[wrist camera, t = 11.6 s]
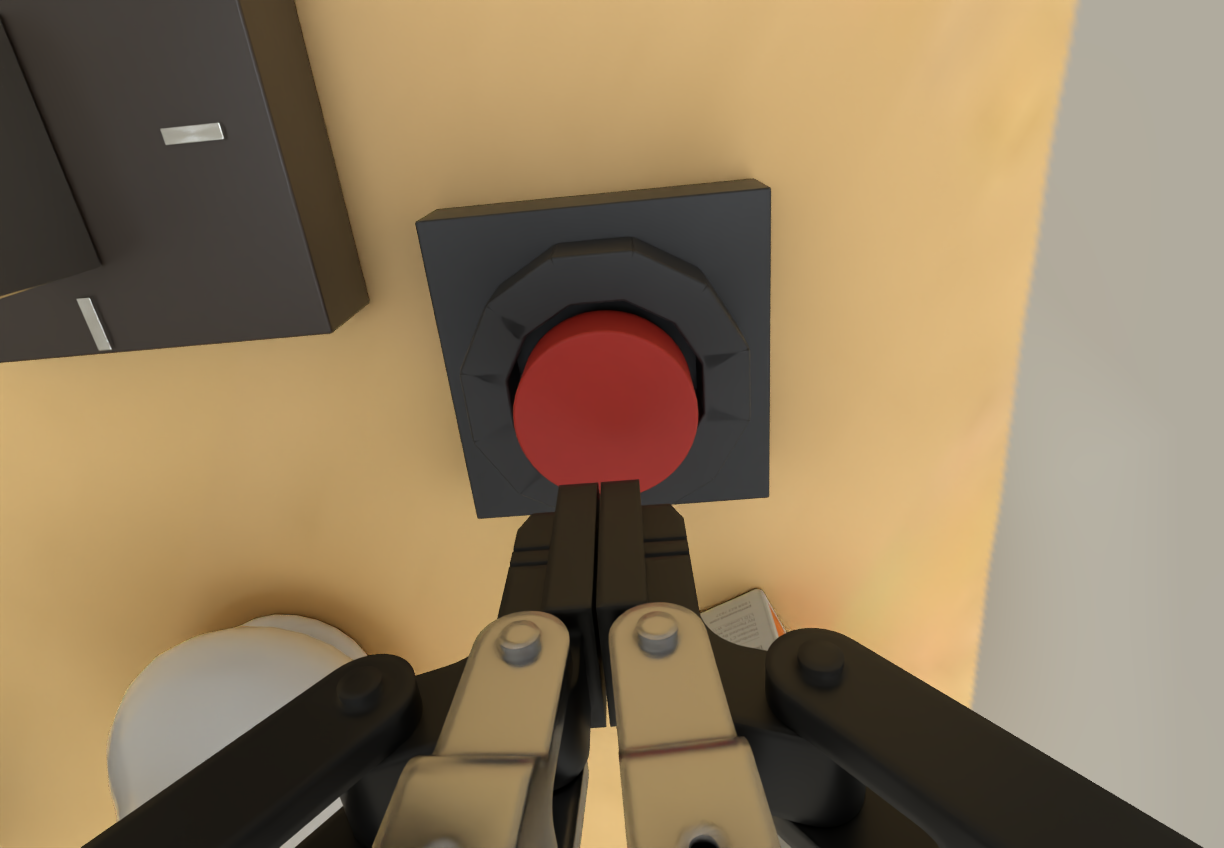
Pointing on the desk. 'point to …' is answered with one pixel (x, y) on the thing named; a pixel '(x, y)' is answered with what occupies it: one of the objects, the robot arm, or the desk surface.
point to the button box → (620, 281)
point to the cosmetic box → (746, 625)
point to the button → (606, 402)
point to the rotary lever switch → (183, 177)
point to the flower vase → (215, 701)
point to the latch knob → (33, 194)
